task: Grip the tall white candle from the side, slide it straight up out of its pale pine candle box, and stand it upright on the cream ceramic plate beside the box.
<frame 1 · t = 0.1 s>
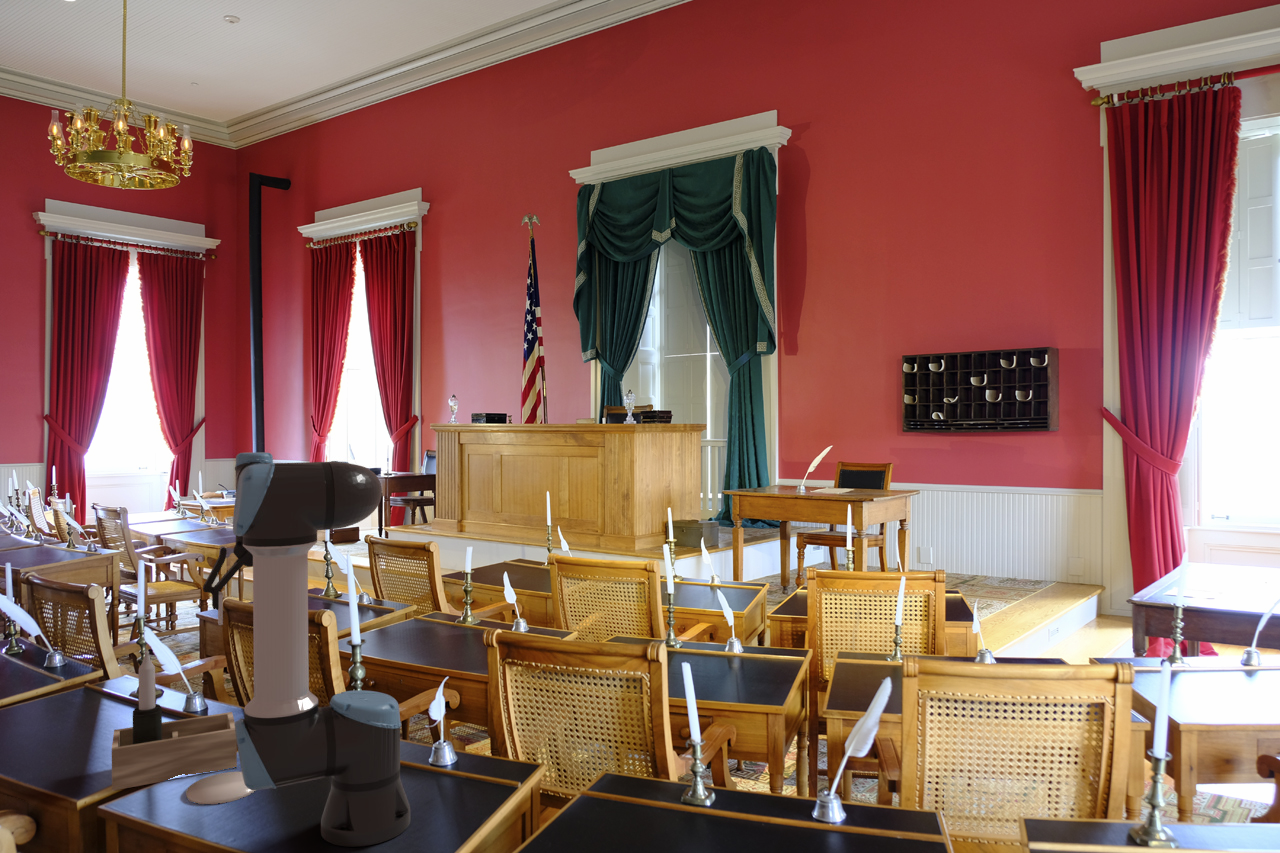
hand: (254, 620, 189), 28 cm above the table, tool pointing down, fingers open, 13 cm apart
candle: (147, 774, 176), resting in candle box
candle box: (175, 768, 179), on the table
plate: (223, 789, 168), on the table
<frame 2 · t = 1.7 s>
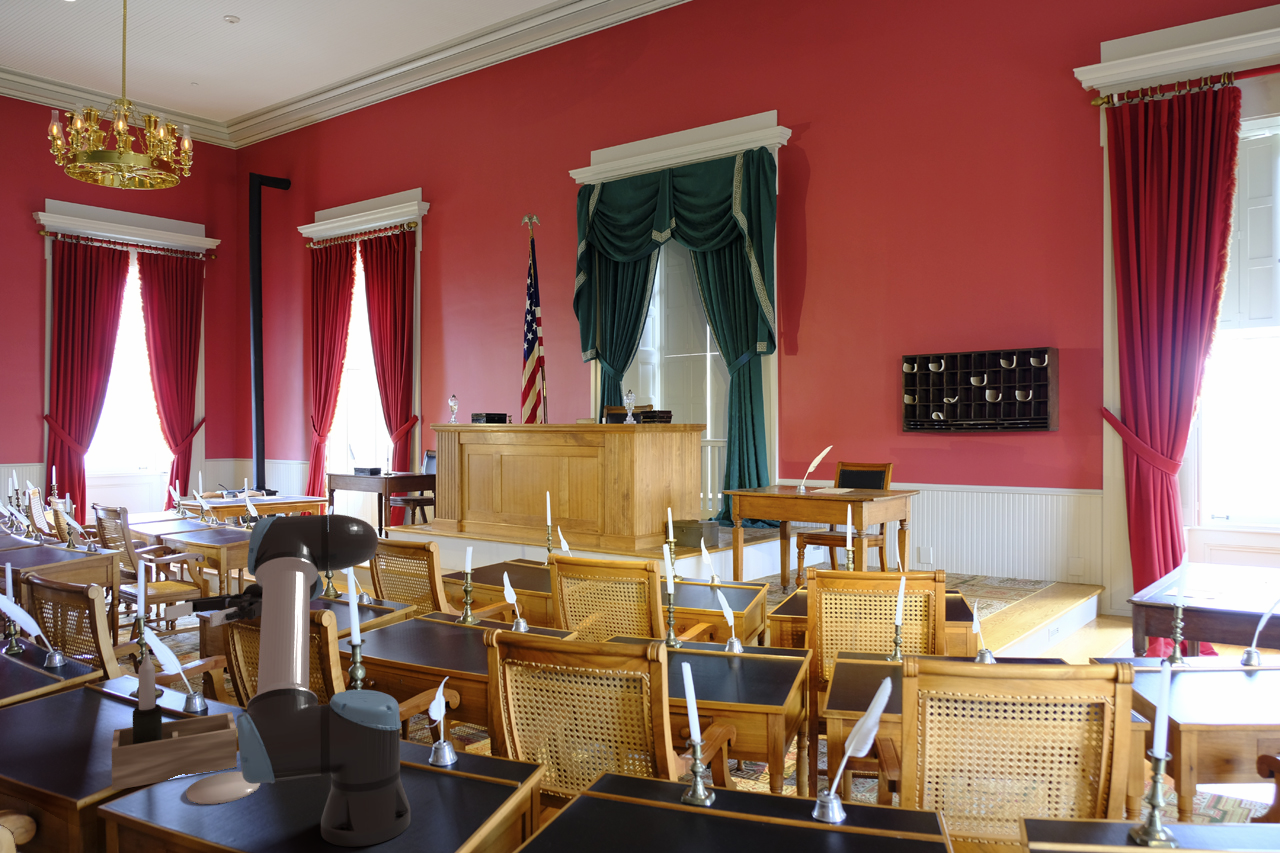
hand: (187, 617, 185), 30 cm above the table, tool horizontal, fingers open, 13 cm apart
nothing on the table moved.
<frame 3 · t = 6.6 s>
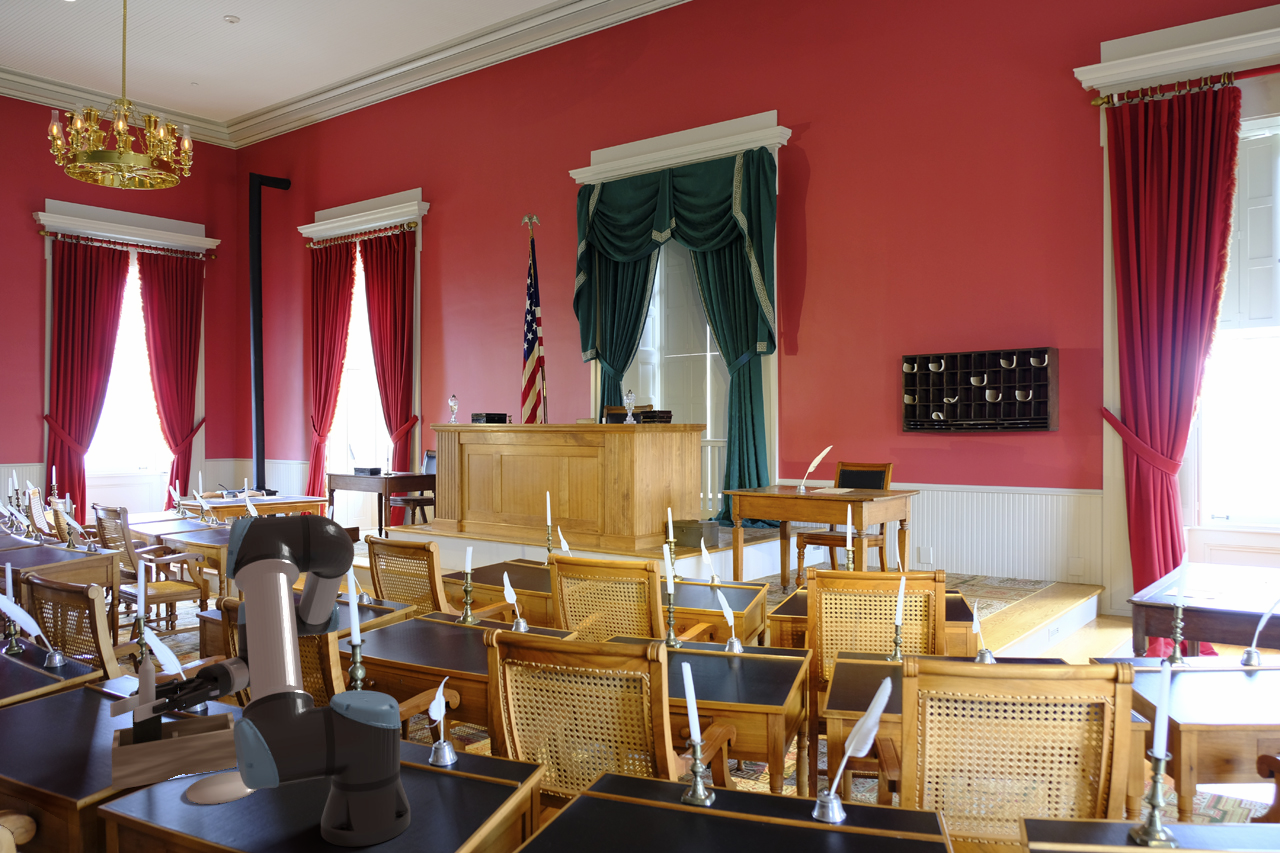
hand: (123, 712, 171), 14 cm above the table, tool horizontal, fingers closed on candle, 6 cm apart
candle: (147, 774, 176), resting in candle box, touching gripper
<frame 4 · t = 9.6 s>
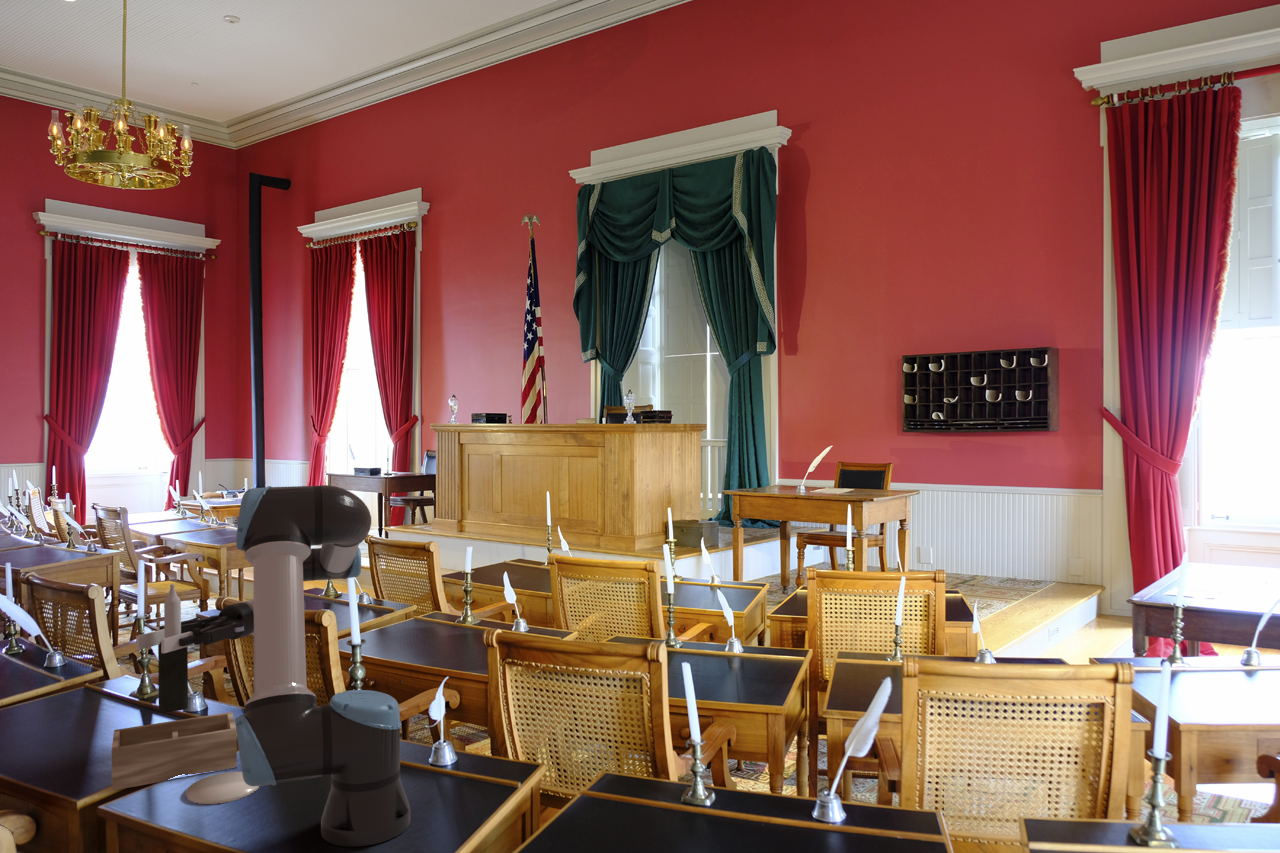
hand: (150, 644, 169), 28 cm above the table, tool horizontal, fingers closed on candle, 6 cm apart
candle: (173, 708, 174), point 14 cm above the table, touching gripper
when the fingers open (16 cm above the table, at t = 13.1 s): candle drops 1 cm, resting on plate.
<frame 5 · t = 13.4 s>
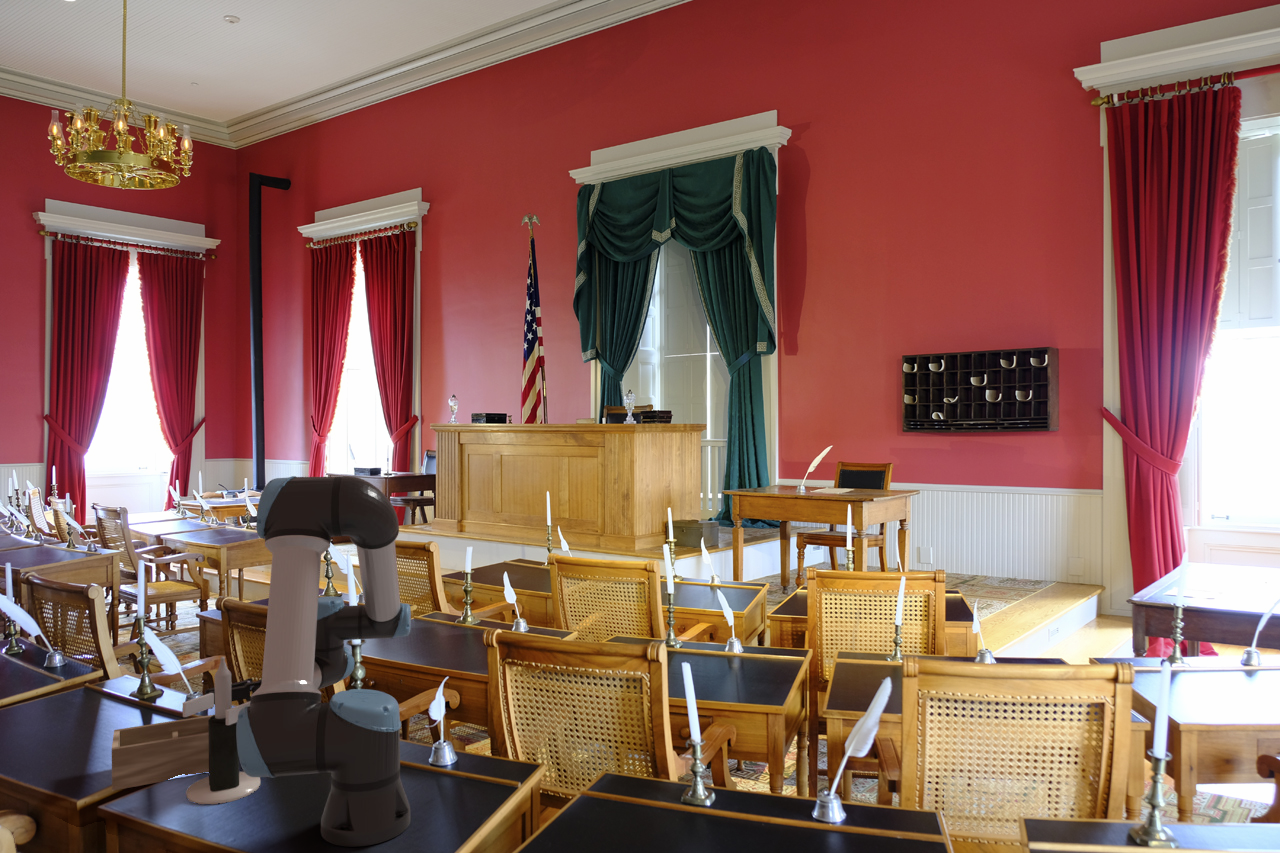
hand: (205, 713, 164), 16 cm above the table, tool horizontal, fingers open, 10 cm apart
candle: (224, 785, 169), point 1 cm above the table, touching plate
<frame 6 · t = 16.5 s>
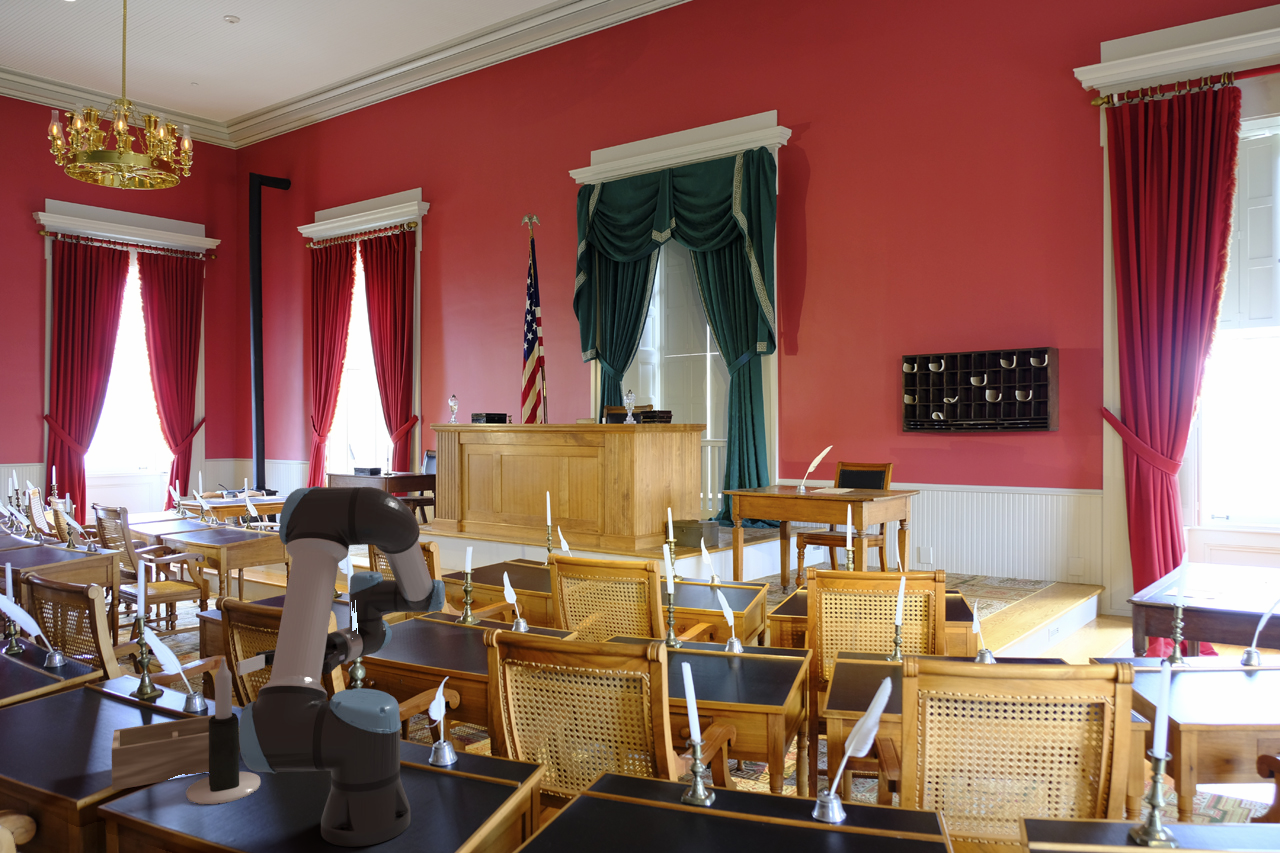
hand: (263, 672, 178), 20 cm above the table, tool horizontal, fingers open, 13 cm apart
nothing on the table moved.
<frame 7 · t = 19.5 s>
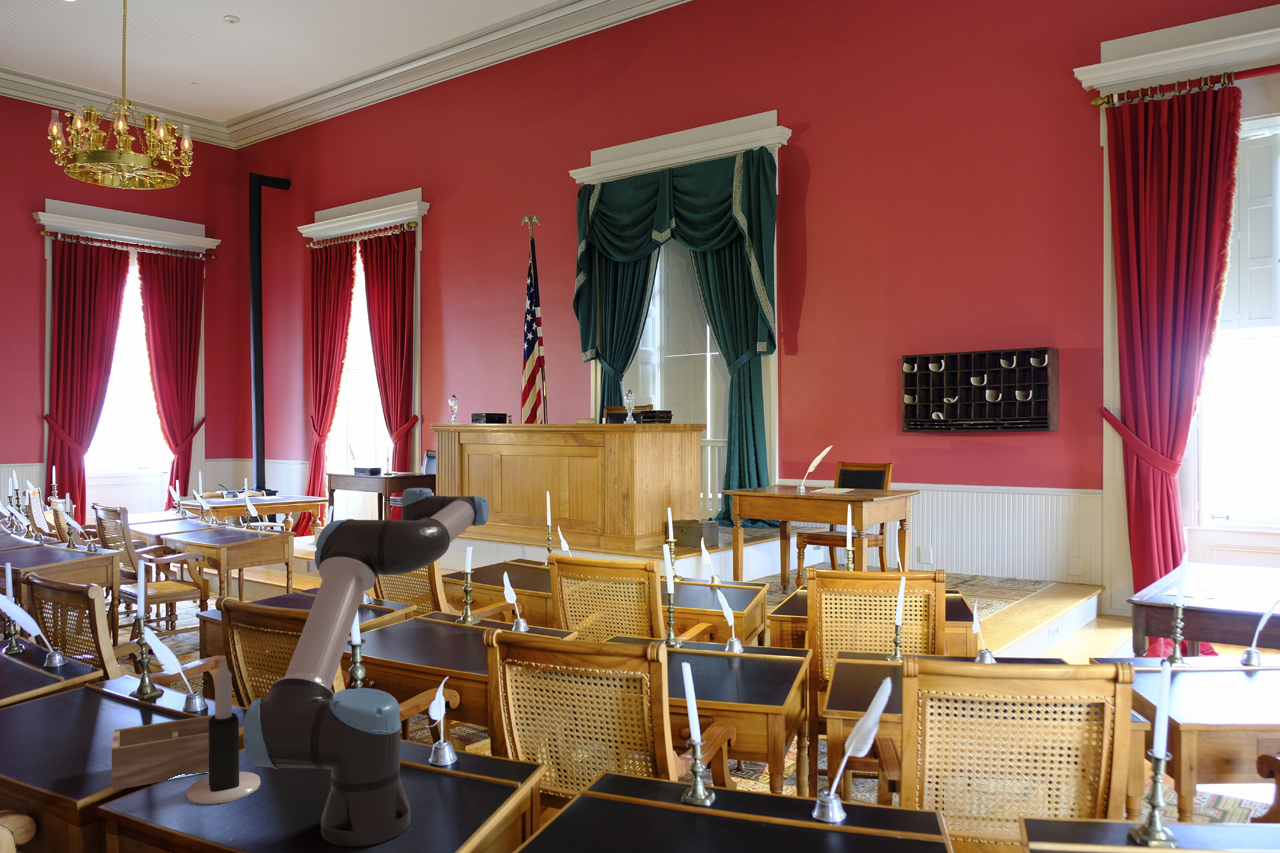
hand: (331, 568, 196), 38 cm above the table, tool horizontal, fingers open, 13 cm apart
nothing on the table moved.
at the end: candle 0.1 cm off-centre on the plate, point 0.6 cm above the plate's base; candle tilted 0°; the gripper is holding nothing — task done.
